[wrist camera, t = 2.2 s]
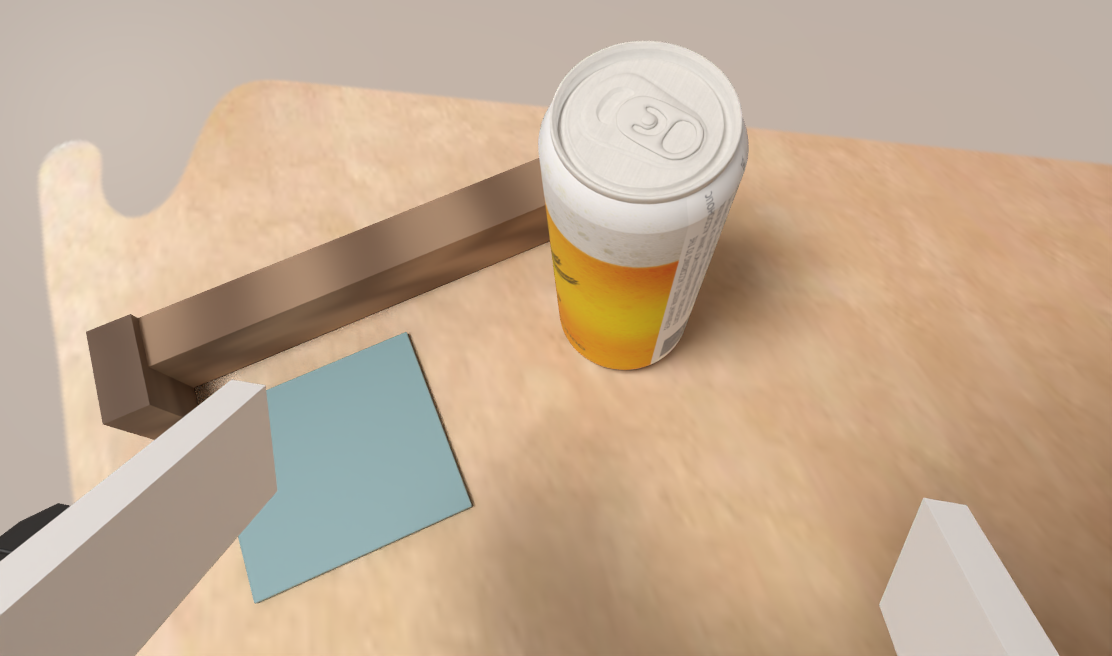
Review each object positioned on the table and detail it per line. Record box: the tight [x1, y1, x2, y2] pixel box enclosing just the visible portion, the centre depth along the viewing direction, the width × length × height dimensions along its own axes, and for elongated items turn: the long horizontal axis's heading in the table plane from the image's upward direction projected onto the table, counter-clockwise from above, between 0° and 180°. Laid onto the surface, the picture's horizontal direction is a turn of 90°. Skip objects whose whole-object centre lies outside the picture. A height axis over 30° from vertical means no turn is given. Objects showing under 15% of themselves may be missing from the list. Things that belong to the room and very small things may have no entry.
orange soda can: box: [538, 41, 749, 370], centre depth 25 cm, size 6×6×15 cm
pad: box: [238, 332, 473, 603], centre depth 30 cm, size 10×9×1 cm
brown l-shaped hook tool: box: [86, 158, 550, 440], centre depth 31 cm, size 24×4×4 cm, turn 113°
